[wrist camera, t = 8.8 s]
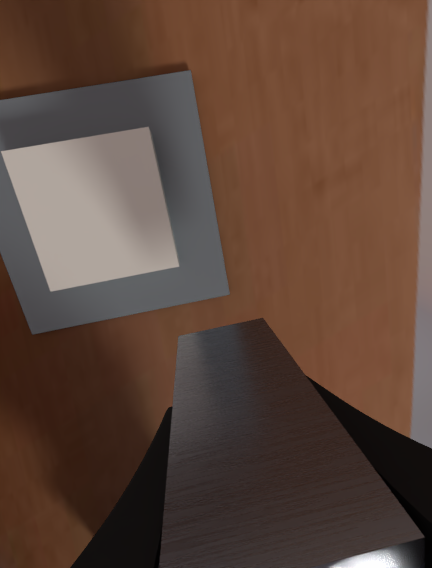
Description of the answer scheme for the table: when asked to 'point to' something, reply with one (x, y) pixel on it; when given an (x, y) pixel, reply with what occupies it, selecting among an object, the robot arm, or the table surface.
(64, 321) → the mat
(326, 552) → the block
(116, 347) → the table surface
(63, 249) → the tile
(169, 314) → the table surface
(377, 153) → the table surface
